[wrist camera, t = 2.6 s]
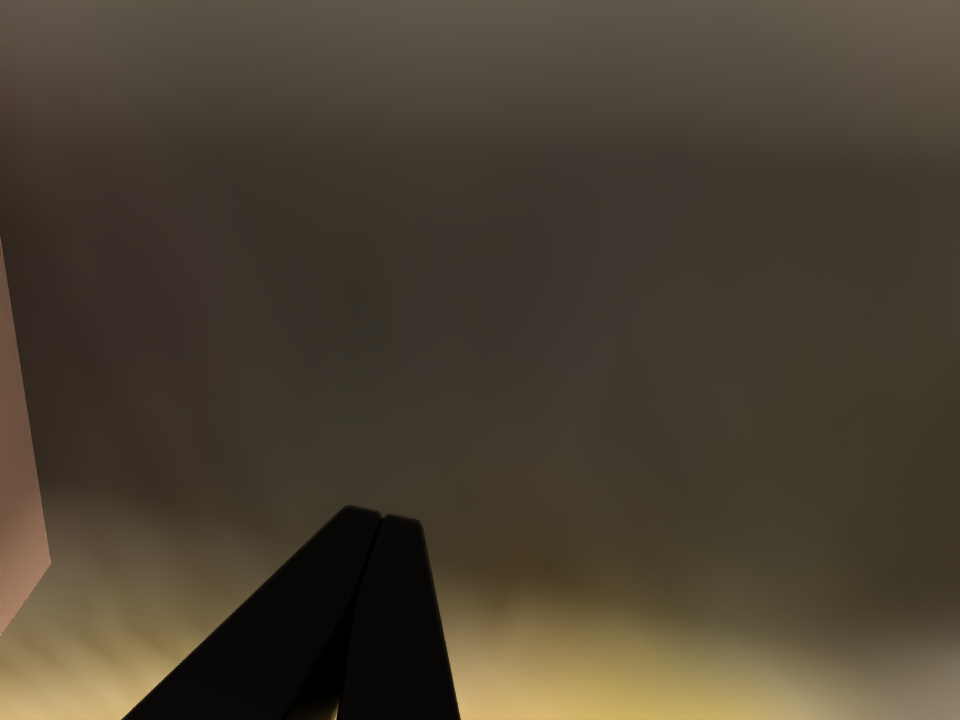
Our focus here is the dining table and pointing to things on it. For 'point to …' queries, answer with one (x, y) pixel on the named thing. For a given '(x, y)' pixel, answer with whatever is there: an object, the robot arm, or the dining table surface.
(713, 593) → the dining table surface
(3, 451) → the terracotta block
